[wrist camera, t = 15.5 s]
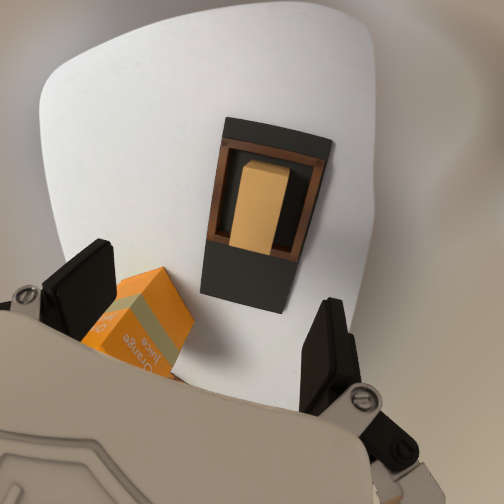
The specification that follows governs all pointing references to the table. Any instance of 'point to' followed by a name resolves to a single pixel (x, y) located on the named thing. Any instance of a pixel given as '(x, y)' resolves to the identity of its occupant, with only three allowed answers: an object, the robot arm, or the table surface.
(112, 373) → the robot arm
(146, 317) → the orange juice
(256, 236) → the brown block
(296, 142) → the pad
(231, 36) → the table surface
